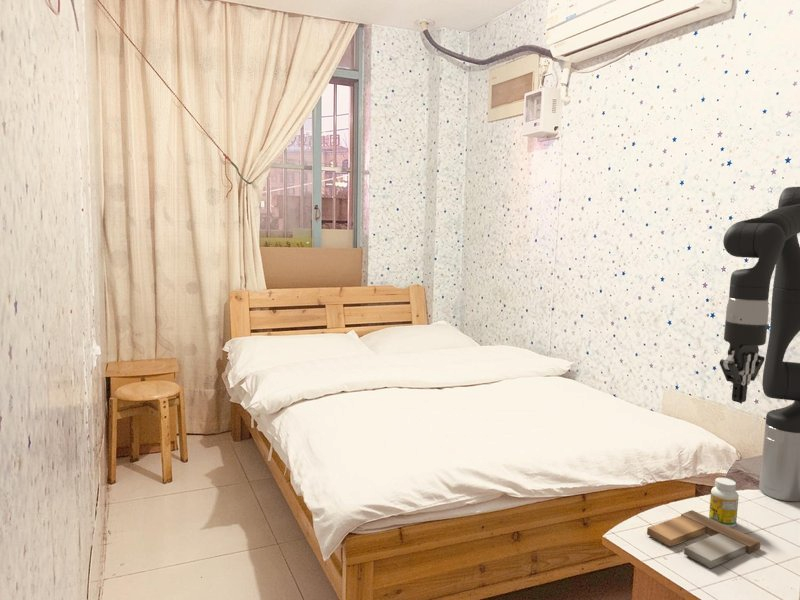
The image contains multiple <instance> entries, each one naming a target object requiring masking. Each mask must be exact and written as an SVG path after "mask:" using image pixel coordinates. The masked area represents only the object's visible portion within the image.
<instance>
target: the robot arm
mask: <svg viewBox="0 0 800 600" xmlns="http://www.w3.org/2000/svg"><path fill="white" fill-rule="evenodd" d="M798 234H800V186H789V187H786V188H784V189H783V190H782V192H781V193H780V196H779V199H778V205H777V208H774V209H772V210H770V211H768V212H766V213H765V214H763V215H761V216H759V217H754V218H753V217H752V218H749V219H743V220H741V221H737V222H735V223H733V224H732V225H731V226H730V227H729V228H728V229H727V230H726V231H725V234H724V236H723V241H722V242H723V243H722V244H723V247H724V250H725V251H726V252H727V253H728V254H729V255H730V256H732V257H736V258H752V259H757V262H756V263H755V265H754V266H753V267H749V268H742V269H737V270H734V271H732V273H731V274H730V275H731V276H730V282H729V291H728V293H729V294H728V299H727V300H728V301H727V304H726V308H725V309H726V310H725V323H724V330H723V331H724V332H723V333H724V334H723V340H724V341H725V342H727V343H729V347H728V350H727V357H726V358H725V359H722V358H721V359H720V361H719V365H720V366H719V367H720V368H721V370H722V373H723V376H724V378H725V380H726V382H729V383H731V384H732V393H731V401H733V402H735V403H739V404H740V403H742V404H743V403H745V402H746V401H747V394H748V393H747V392H748V386H749V385H751V381H752V382H754V381H755V380H756V378H757V376H758V375H759V372H760V370H761V368H762V366H763V364H764V366H763V372H762V385H761V386H762V391H763V394H764V395H765V396H766V397H767V398H769V399H776V400H784V401H785V400H787V401H794V402H792V403H791V404H789V405H787V406H784V407H782V408H777V409H772V410H769V411H768V412H767V413H766V416H765V425H764V434H763V436H764V437H763V445H762V446H763V447H762V455H761V457H762V458H761V465H760V476H759V484H758V485H759V486H758V490H759V491H760V492H761V493H762V494H764V495H766V496H768V497H770V498H773V499H777V500H779V501H785V502H800V362H795V361H784V358H785V355H786V352H787V349H788V347H789V346H790V344H791V342H792V341H793V340H794V338H795V337H796V336H797V335H798V334H799V333H800V243H799V237H798ZM773 274H774V276H773ZM773 277H774V278H773ZM772 278H773V285H772V294H771V308H770V307H769V297H770V286H771V280H772ZM769 308H770V309H771V311H770V325H769V327H770V328H769V334H768V343H767V333H768V324H769V323H768V322H769ZM766 343H767V348H766V354H765V356H763V355H760V354H759V352H760V349H759V347H760V346H764V345H765V344H766Z"/></svg>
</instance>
